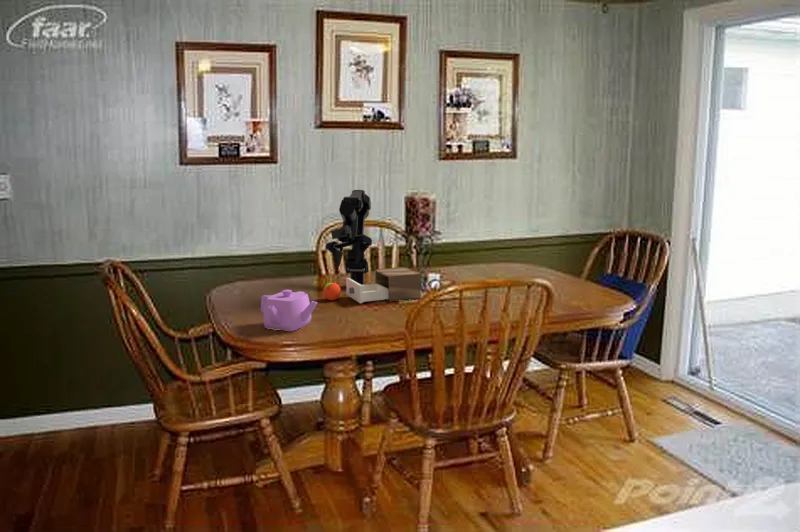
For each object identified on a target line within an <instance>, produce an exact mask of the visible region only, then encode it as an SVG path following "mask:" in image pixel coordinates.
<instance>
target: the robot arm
mask: <svg viewBox="0 0 800 532" xmlns="http://www.w3.org/2000/svg"><path fill="white" fill-rule="evenodd" d="M371 206H372V204H371V197H370V196H369V195H367V194H366V193H365V190H363V189H353V190H352V191H351V194H350V195H349V196H344V197H342V199H341V202H340V205H339V208H338V209H339V214H340V216H341V219H342V227H340V228H338V229H333V230H331V231H330V235H331V239H332V240H333V241H329V242H327V243H326V245H325V250H327V251H329V252H330V253H331V254H332V255H333V258H334V259H333V260H334V262H335V266H336V267H337V268H339V267H340V266H341V262H342V258H343V254H344V252H343V251H344V248H347V247H351V246H352V247H351V249H349V250H348V251H347V258H345V272H346V273H347V274H348V273H349V274H350V276H349V278H350V279H352V280H354V281H356V282H357V283H359V284H361V285H366V284H365V274H367V273H369V271H370V269H369V262H368V259H367V258H366V254H365V252H366V251H367V249H369V248H370V246H372V243H373V240H372V238H371V237H370V236H368V235H366V234H365V222H366V219H367V218H368V216H369V215H370V210H371V209H372V207H371ZM336 240H337V241H339V242H337V241H336Z"/></svg>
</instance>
